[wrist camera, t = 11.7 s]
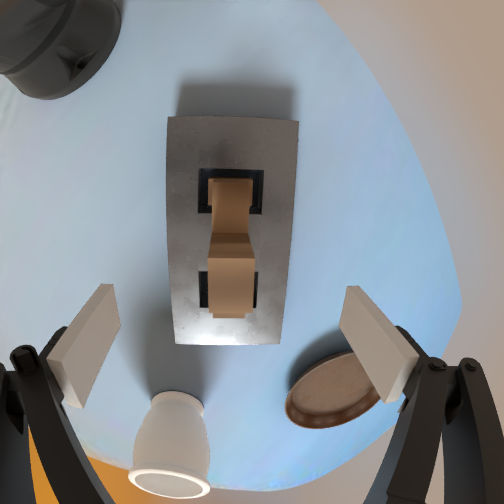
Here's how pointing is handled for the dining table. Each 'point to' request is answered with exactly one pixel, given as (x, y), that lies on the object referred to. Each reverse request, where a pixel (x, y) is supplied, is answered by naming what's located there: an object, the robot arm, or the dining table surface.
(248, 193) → the brown wooden branched block
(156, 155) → the dining table surface
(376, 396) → the plant saucer
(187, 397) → the jar
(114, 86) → the dining table surface
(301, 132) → the dining table surface
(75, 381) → the robot arm
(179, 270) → the grey slotted base block
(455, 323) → the dining table surface
